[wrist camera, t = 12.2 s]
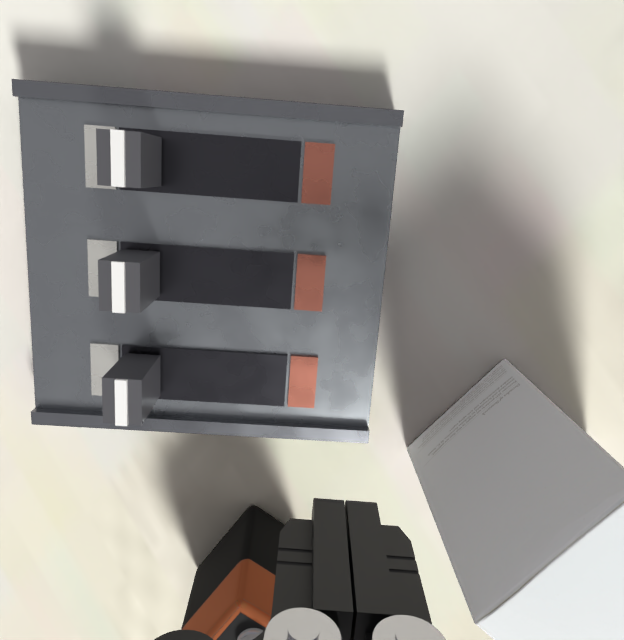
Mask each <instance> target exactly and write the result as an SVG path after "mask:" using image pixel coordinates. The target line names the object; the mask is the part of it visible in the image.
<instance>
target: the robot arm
mask: <svg viewBox="0 0 624 640" xmlns="http://www.w3.org/2000/svg"><path fill="white" fill-rule="evenodd" d="M155 640H213V639H212V638H211V637H209V636H208V635H206V634H204V633H202V632H199V631H195V630H177V631H172V632H169V633H166V634H164V635H161V636H160V637H158V638H156V639H155ZM253 640H446V639H445V638H444V636H443V635H442V633H441V632H440V631H439V630H438V629H437V628H435V627H434V626H433V625H432V622H431V618H430V614H429V610H428V606H427V603H426V599H425V595H424V591H423V587H422V583H421V579H420V575H419V574H418V567H417V564H416V561H415V556H414V552H413V548H412V544H411V541H410V540H409V538H408V537H407V536H406V535H405V534H404V532H403V531H402V530H401V529H400V528H399V527H398V526H388V525H381V523H380V517H379V512H378V507H377V503H374V502H361V501H347V500H346V502H345V505H344V500H332V499H318V498H314V500H313V509H312V520H304V519H291V518H290V520H289V521H288V522H287V523H286V525H285V526H284V527H283V528H282V530H281V531H280V537H279V546H278V556H277V566H276V575H275V585H274V594H273V604H272V614H271V618H270V621H269V623H268V625H267V627H266V628H265V629H264V631H263V632H262V633H261V634H260V635H258V636H257V637H256V638H254V639H253Z"/></svg>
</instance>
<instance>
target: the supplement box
mask: <svg viewBox="0 0 624 640" xmlns="http://www.w3.org/2000/svg"><path fill="white" fill-rule="evenodd" d="M407 451H408V453H409V456H410V458H411V461H412V463H413V466H414V468H415V471H416V473H417V476H418V478H419V481H420V484H421V486H422V489H423V491H424V494H425V497H426V499H427V502H428V504H429V507H430V510H431V512H432V515H433V517H434V520H435V522H436V525H437V528H438V530H439V533H440V535H441V538H442V541H443V543H444V546H445V548H446V551H447V554H448V556H449V559H450V561H451V564H452V567H453V569H454V572H455V574H456V577H457V579H458V582H459V584H460V587H461V589H462V592H463V595H464V597H465V600H466V602H467V605H468V607H469V610H470V612H471V615H472V618H473V620H474V623H475V624H476V625H478V626H479V627H480V628H481V629H482V630H483V631H485V632H486V633H487V634H488V635H489V636H490V637H492V638H493V639H494V640H624V467H623V466H622V465H620V464H619V463H618V462H617V461H616V460H615V459H614V458H613V457H612V456H611V455H610V454H609V453H607V452H606V451H605V450H604V449H603V448H602V447H601V446H600V445H599V444H598V443H597V442H596V441H594V440H593V439H592V438H591V437H590V436H589V435H588V434H587V433H586V432H585V431H584V430H583V429H582V428H580V427H579V426H578V425H577V424H576V423H575V422H574V421H573V420H572V419H571V418H570V417H568V416H567V415H566V414H565V413H564V412H563V411H562V410H561V409H560V408H559V407H558V406H557V405H555V404H554V403H553V402H552V401H551V400H550V399H549V398H548V397H547V396H546V395H545V394H543V393H542V392H541V391H540V390H539V389H538V388H537V387H536V386H535V385H534V384H533V383H532V382H530V381H529V380H528V379H527V378H526V377H525V376H524V375H523V374H522V373H521V372H520V371H519V370H517V369H516V368H515V367H514V366H513V365H512V364H511V363H510V362H509V361H508V360H506V359H503V360H502V361H501V362H500V363H499V364H497V365H496V366H495V367H494V368H493V369H492V370H491V371H490V372H489V373H488V374H486V375H485V376H484V377H483V378H482V379H481V380H480V381H479V382H478V383H477V384H476V385H475V386H473V387H472V388H471V389H470V390H469V391H468V392H467V393H466V394H465V395H464V396H463V397H461V398H460V399H459V400H458V401H457V402H456V403H455V404H454V405H453V406H452V407H451V408H449V409H448V410H447V411H446V412H445V413H444V414H443V415H442V416H441V417H440V418H438V419H437V420H436V421H435V422H434V423H433V424H432V425H431V426H430V427H429V428H428V429H426V430H425V431H424V432H423V433H422V434H421V435H420V436H419V437H418V438H417V439H416V440H415V441H414V442H413V443H412V444H410V445H409V446H408V448H407Z"/></svg>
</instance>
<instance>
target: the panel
mask: <svg viewBox="0 0 624 640" xmlns="http://www.w3.org/2000/svg"><path fill="white" fill-rule="evenodd" d="M12 92H13V96H15V97H18V98H19V116H20V134H21V152H22V170H23V188H24V206H25V224H26V242H27V261H28V279H29V297H30V315H31V333H32V351H33V369H34V387H35V405H36V408H35V409H34V410H32V411H31V420H32V424H36V425H53V426H71V427H89V428H106V429H124V430H142V431H159V432H177V433H195V434H212V435H230V436H248V437H266V438H283V439H301V440H319V441H336V442H354V443H368V439H369V428H368V424H369V415H370V405H371V396H372V387H373V377H374V368H375V359H376V349H377V340H378V331H379V321H380V312H381V302H382V293H383V284H384V274H385V265H386V256H387V246H388V237H389V228H390V218H391V209H392V200H393V190H394V181H395V172H396V162H397V153H398V143H399V134H400V127H402V124H403V115H404V110H392V109H379V108H367V107H354V106H342V105H330V104H317V103H305V102H292V101H280V100H267V99H255V98H242V97H230V96H218V95H205V94H193V93H180V92H168V91H155V90H143V89H131V88H118V87H106V86H93V85H81V84H68V83H56V82H43V81H31V80H19V79H12ZM96 128H97V129H113V130H124V131H136V132H143V133H147V134H151V135H155V136H159V137H162V157H161V186H159V187H149V188H129V187H113V186H102V185H97V151H96ZM122 249H130V250H145V251H159V252H160V296H159V297H158V298H157V299H156V300H155V301H153V302H152V303H151V304H150V305H149V306H148V307H147V308H146V309H144V310H143V311H142V312H141V313H128V312H126V313H112V311H99V292H98V260H99V259H101V258H104V257H106V256H108V255H110V254H113V253H115V252H117V251H120V250H122ZM125 353H131V354H147V355H161V358H160V397H159V399H158V400H157V402H156V403H155V405H154V407H153V408H152V410H151V411H150V413H149V415H148V416H147V418H146V419H145V421H144V423H143V424H142V425H128V426H115V424H109V423H103V411H102V377H103V376H104V375H105V374H106V373H107V372H108V371H109V370H110V369H111V368H112V367H113V366H114V365H115V363H116V362H117V361H118V360H119V359H120V358H121V357H122V356H123V355H124V354H125Z"/></svg>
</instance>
